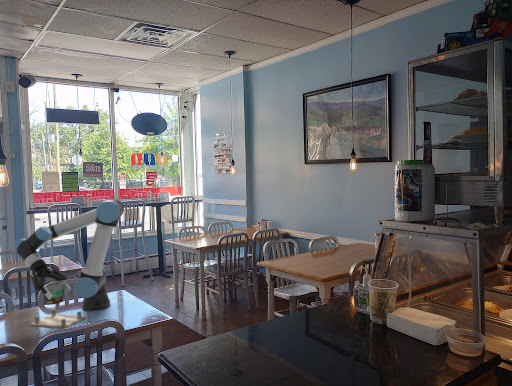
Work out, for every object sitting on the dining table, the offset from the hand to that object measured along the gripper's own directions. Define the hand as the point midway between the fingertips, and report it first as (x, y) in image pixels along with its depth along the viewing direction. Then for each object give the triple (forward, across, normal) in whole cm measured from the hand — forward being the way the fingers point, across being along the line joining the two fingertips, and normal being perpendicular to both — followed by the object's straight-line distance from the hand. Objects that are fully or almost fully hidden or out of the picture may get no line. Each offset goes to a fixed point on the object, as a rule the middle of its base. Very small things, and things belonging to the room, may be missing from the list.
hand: (60, 294), depth 209 cm
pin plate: (+9, 0, -12) cm, 15 cm away
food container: (+2, -1, -5) cm, 5 cm away
